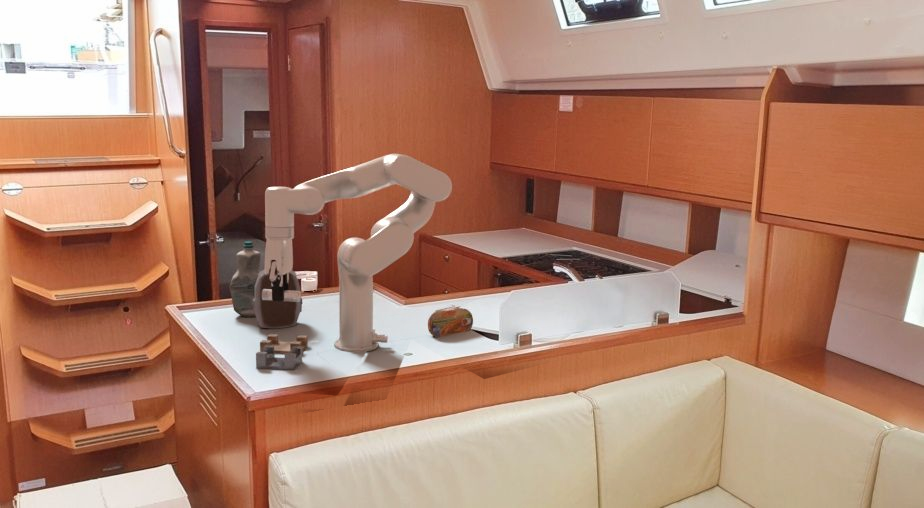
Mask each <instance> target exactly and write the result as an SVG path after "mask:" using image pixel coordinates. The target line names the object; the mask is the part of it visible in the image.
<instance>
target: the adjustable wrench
mask: <svg viewBox="0 0 924 508" xmlns="http://www.w3.org/2000/svg"><path fill="white" fill-rule="evenodd" d="M451 305H452V306H449V307H448V306H447V307H445V308H440V309H437V310H436V309H435V311H434V312H436V311H441V310H448V309H455V308H458V307H459V308H461V306H459V305H453V304H451Z"/></svg>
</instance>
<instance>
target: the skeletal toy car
mask: <svg viewBox="0 0 924 508" xmlns="http://www.w3.org/2000/svg"><path fill="white" fill-rule="evenodd" d="M294 272H295V273H296V276H297V279H298V280H300V279H301V280H300V281H301V282H300V283H301V285H300V291H301V292H304V291H310V290H316V291H317V290H318V271H309V270H304V271H294Z"/></svg>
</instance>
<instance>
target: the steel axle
mask: <svg viewBox="0 0 924 508" xmlns="http://www.w3.org/2000/svg"><path fill="white" fill-rule="evenodd" d="M301 293H302V292H301V290H300V291H291V290H284V300H283V301H290V302H299V301H300V298H302V296H301V295H302V294H301ZM262 300H272V289H263V291H262ZM272 301H273V300H272Z"/></svg>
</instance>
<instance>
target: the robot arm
mask: <svg viewBox="0 0 924 508" xmlns="http://www.w3.org/2000/svg"><path fill="white" fill-rule="evenodd" d="M394 185H398V186H399V187H402V188H405V189H406V190H408V191H410V194H409V197H408V198H407V200H406V201H405V202H404V203H403V204H402V205H401V206H399V207H398V208H396V209H395V210H394V211H391V213H389V214H387V215H386V216H385V217H383V218H381V219H379V220H378V221H377V222H376V223H375V224H373V225H372V228H371V230H370V237H369V238H367V239H364V238H360V237H349V238H347V239H345V240H344V241H342V243H341V244H340V245H339V248H338V249H337V254H336V255H337V256H336V257H337V258H336V259H337V267H338V268H337V270H338V279H339V281H338V282H339V283H338V285H339V298H338V299H339V301H338V303H339V314H338V315H339V318H338V319H339V326H338V327H339V329H338V330H339V339H336V340H335V341H334V343H333V347H334V348H335V349H337V350H339V351H344V352H350V353H351V352H370V351H373V350H375V349H377V348H378V347H379V343H383V344H384V343H385V344H388V340H389V337H388V335H385V334H381V333H380V334H378V333H376V329H374V324H373V323H374V282H373V281H374V279H373V276H374V275H376V274H378V273H379V272H381V271H383V270H384V269H386V268H387V267H388V266H390V265H392V264H393V263H394V262H395V261H397V260H399V259H400V258H402V257H404V255H406V254H407V253H408V252H409V251H410V249H411V248H412V245H413V244H414V239H415V233H416V232H417V231H419V230H420V229H421V228H422V227H424V226H425V225H426V224H427V223H428V222H429V221H430V219H431V217H432V216H433V214H434V211H435V208H436V203H437V202H439V203H440V202H443V201H445V200H446V199H448V198H449V196H450V195H451V193H452V191H453V184H452V181H451V178H450V177H449V176H448V175H447V174H446V173H445V172H443V171H441V170H438V169H436V168H434V167H432V166H430V165H428V164H427V163H423V162H422V161H419V160H418V159H416V158H413V157H412V156H410V155H407V154H400V153H389V154H385V155H382V156H380V157H377V158H374V159H372V160H369V161H366V162H364V163H361V164H358V165H353V166H352V167H348V168H346V169H343V170H339V171H336V172H333V173H330V174H326V175H322V176H320V177H317V178H313V179H311V180H308V181H305V182H303V183H302V182H301V183H300V184H297V185H296V186H294V188H291V187H289V186H288V187H287V186H270V187H267V188H266V190H265V192H264V205H265V206H264V208H265V209H264V211H265V212H264V215H265V216H264V218H265V219H264V221H265V222H264V223H265V228H264V229H265V230H264V231H265V239H266V242H265V250H264V251H265V253H264V269H265V274H266V275H270V278H269V279H270V280H271V286H272V300H273V301H283V300H284V290H289V284H287V283H289V272H290V271H291V270H293V267H294V254H293V253H294V251H293V249H294V248H293V239H294V238H295V214H300V215H308V216H310V215H311V216H313V215H317V214H318V213H319V212H321V211H322V210H323V208H324V206H325V204H326V203H329V202H333V201H336V200H343V199H355V198H361V197H364V196H367V195H370V194H372V193H375V192H377V191H379V190H383V189H386V188H388V187H391V186H394ZM276 273H278V275H276ZM277 277H278V278H277Z"/></svg>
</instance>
